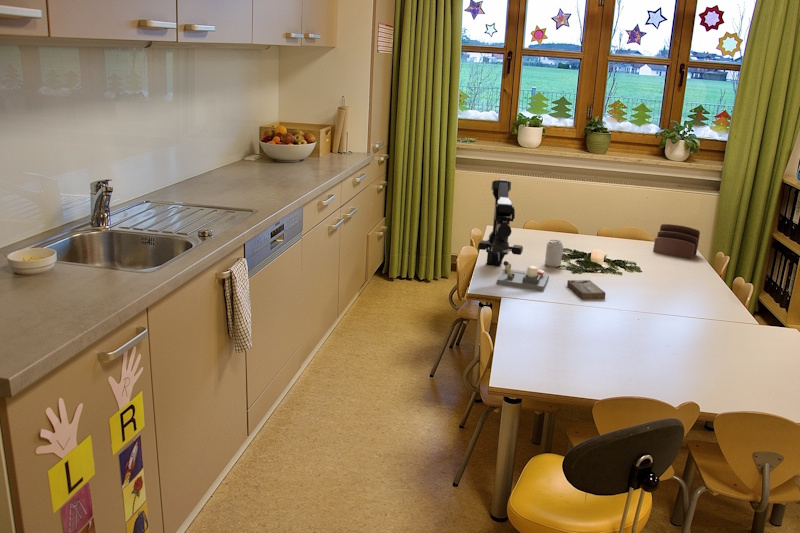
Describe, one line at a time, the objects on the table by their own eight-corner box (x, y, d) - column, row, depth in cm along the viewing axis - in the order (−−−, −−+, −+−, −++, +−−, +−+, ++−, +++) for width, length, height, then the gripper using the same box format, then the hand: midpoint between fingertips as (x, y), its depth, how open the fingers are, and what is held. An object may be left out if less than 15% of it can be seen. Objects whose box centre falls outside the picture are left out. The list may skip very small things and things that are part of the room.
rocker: (527, 271, 330) (528, 267, 330) (528, 268, 334) (529, 265, 333) (542, 276, 329) (543, 273, 328) (543, 274, 332) (544, 270, 332)
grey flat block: (581, 300, 311) (582, 293, 310) (566, 286, 327) (567, 279, 326) (605, 299, 312) (606, 292, 311) (589, 286, 329) (590, 279, 328)
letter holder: (657, 247, 395) (661, 222, 391) (696, 255, 386) (701, 228, 382) (652, 251, 387) (656, 225, 383) (692, 259, 378) (697, 232, 373)
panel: (495, 283, 324) (496, 274, 322) (503, 272, 340) (504, 263, 339) (543, 291, 318) (544, 281, 317) (548, 278, 334) (549, 269, 333)
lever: (507, 278, 325) (502, 262, 324) (508, 277, 327) (503, 260, 326) (512, 277, 325) (507, 261, 323) (513, 275, 327) (508, 259, 325)
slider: (504, 271, 334) (505, 265, 333) (506, 269, 337) (506, 263, 336) (509, 271, 334) (510, 265, 333) (510, 270, 336) (511, 264, 335)
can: (560, 268, 350) (563, 243, 347) (544, 266, 352) (547, 242, 348) (560, 263, 358) (563, 239, 354) (544, 262, 359) (547, 238, 355)
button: (525, 277, 322) (526, 268, 320) (527, 274, 326) (528, 265, 324) (536, 278, 320) (537, 269, 319) (537, 275, 324) (538, 267, 323)
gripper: (476, 233, 317) (473, 268, 322) (520, 239, 312) (516, 274, 316) (482, 227, 327) (479, 261, 332) (524, 232, 322) (521, 267, 326)
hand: (498, 266), depth 326 cm, fingers closed
